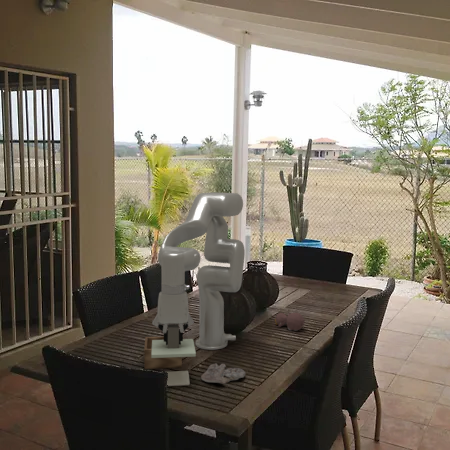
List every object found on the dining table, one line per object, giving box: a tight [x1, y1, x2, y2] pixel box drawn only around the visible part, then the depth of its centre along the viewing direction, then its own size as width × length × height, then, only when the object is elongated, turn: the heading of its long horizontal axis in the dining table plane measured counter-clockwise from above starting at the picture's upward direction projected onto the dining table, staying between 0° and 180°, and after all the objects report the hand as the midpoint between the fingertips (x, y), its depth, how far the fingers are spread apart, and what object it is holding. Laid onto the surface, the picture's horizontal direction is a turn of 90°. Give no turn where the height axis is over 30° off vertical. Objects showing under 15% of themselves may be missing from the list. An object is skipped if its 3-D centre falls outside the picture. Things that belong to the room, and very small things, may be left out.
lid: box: [151, 324, 197, 358], centre depth 175 cm, size 14×14×8 cm
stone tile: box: [166, 370, 191, 387], centre depth 177 cm, size 10×10×1 cm
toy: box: [274, 312, 306, 332], centre depth 229 cm, size 8×8×15 cm
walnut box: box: [143, 335, 183, 370], centre depth 192 cm, size 13×13×7 cm
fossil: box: [200, 363, 246, 385], centre depth 179 cm, size 17×4×15 cm
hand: (173, 342), depth 175 cm, fingers closed on lid, 3 cm apart
